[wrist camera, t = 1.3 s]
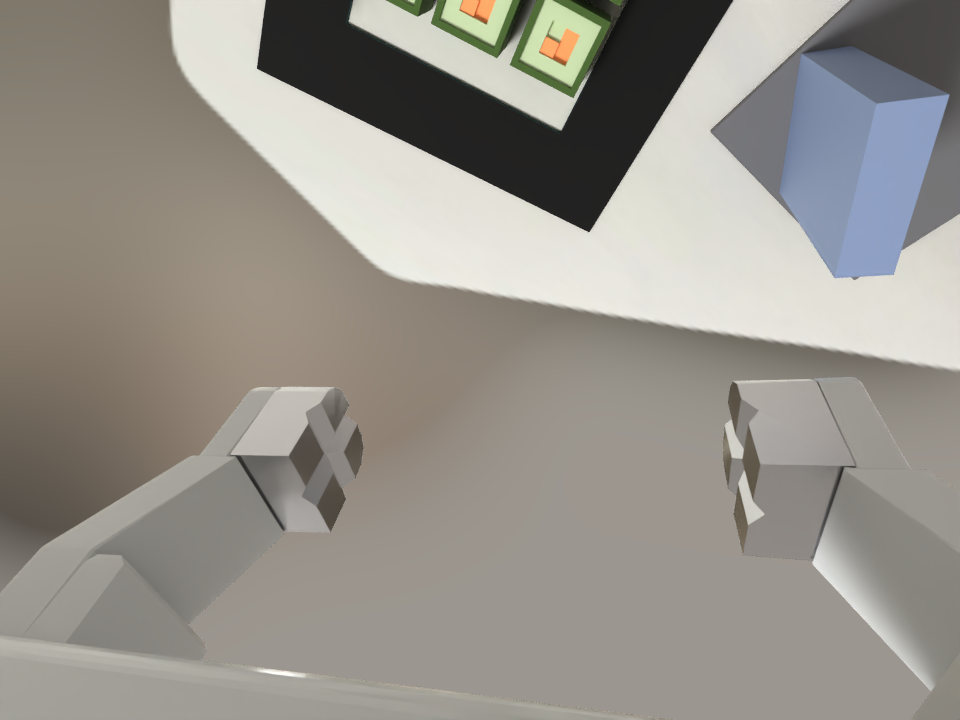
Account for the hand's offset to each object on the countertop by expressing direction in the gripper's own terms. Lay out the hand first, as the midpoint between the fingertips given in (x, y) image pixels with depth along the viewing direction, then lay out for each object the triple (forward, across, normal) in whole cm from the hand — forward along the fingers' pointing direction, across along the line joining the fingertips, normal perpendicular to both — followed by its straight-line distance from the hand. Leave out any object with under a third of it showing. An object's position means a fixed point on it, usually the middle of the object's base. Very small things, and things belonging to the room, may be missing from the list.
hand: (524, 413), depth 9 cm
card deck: (+31, -13, +6) cm, 34 cm away
